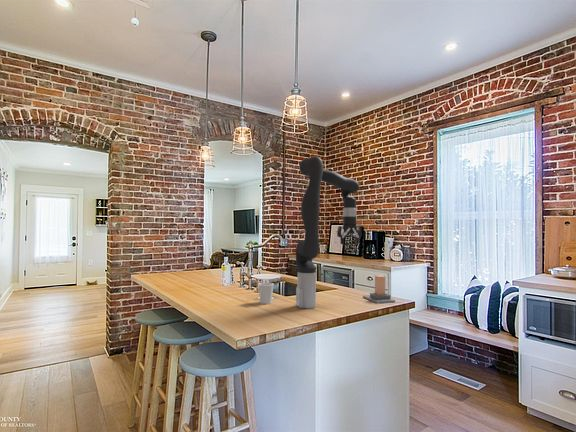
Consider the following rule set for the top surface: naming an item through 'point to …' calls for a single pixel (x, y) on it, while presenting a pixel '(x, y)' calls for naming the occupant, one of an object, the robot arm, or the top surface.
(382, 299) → the socket board
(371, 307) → the top surface
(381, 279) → the terracotta peg
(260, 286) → the dixie cup
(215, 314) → the top surface
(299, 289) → the robot arm
